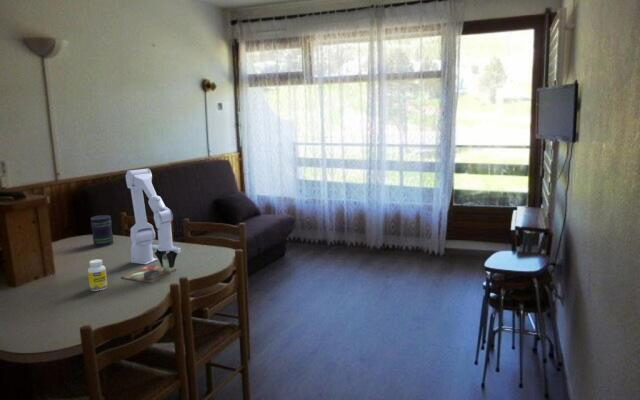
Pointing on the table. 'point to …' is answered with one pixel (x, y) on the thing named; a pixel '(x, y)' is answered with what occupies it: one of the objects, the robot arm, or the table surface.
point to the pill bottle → (97, 275)
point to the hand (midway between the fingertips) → (167, 266)
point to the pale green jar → (166, 264)
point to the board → (147, 274)
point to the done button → (151, 267)
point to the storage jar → (102, 230)
